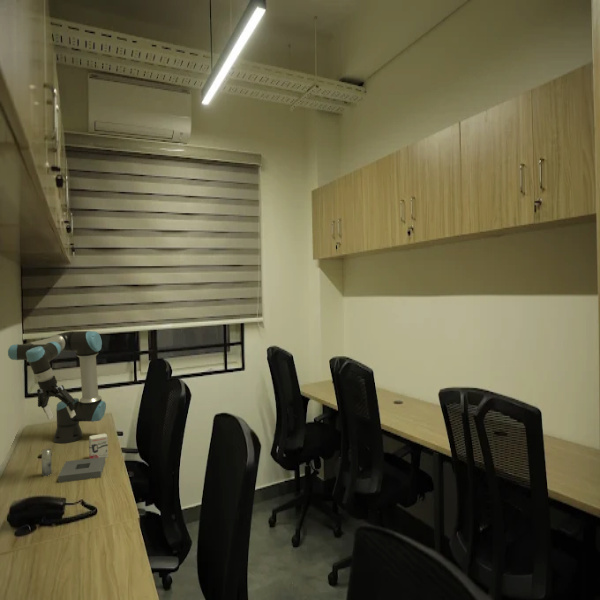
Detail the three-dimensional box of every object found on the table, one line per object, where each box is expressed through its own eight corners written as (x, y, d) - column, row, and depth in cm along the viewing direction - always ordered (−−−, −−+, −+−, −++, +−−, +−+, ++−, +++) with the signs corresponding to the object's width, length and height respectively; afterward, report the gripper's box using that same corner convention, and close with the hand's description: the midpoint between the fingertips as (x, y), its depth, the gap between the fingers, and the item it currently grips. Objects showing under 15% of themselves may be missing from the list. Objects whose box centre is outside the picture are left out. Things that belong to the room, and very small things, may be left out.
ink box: (90, 461, 227) (90, 438, 226) (89, 458, 231) (88, 436, 230) (108, 457, 231) (108, 435, 231) (106, 454, 235) (106, 433, 235)
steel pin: (43, 473, 212) (42, 449, 211) (52, 472, 213) (52, 448, 212) (41, 477, 208) (40, 452, 207) (50, 476, 209) (50, 451, 209)
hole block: (66, 467, 219) (66, 461, 219) (105, 462, 225) (105, 456, 224) (58, 482, 202) (58, 476, 202) (100, 477, 207) (100, 471, 207)
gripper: (19, 384, 208) (36, 423, 213) (61, 380, 201) (77, 420, 206) (31, 377, 215) (47, 414, 220) (72, 372, 208) (88, 411, 213)
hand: (62, 417), depth 213 cm, fingers open, 13 cm apart
